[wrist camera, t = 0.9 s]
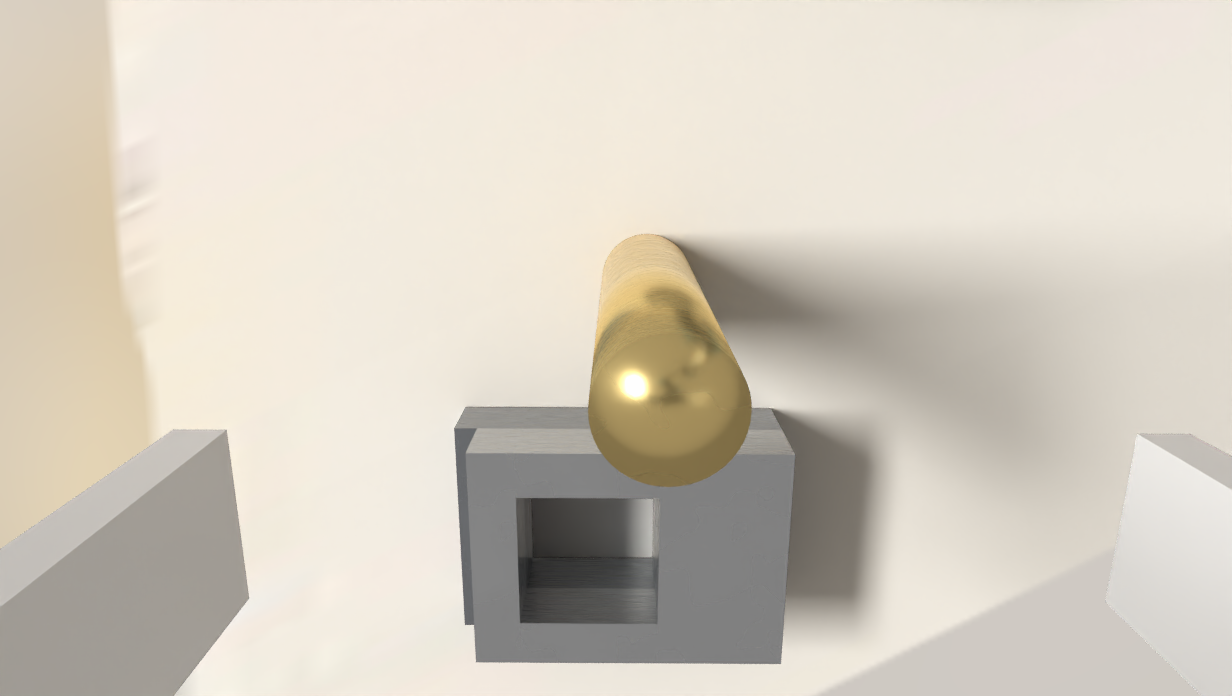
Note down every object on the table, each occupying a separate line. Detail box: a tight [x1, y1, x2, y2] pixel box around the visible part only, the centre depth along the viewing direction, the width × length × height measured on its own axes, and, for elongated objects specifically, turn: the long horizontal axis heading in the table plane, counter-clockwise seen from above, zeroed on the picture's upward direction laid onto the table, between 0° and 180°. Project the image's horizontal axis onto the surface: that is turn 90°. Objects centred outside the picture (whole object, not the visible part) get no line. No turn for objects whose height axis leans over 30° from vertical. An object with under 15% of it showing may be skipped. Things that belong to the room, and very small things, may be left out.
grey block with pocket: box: [454, 407, 795, 664], centre depth 30 cm, size 12×8×4 cm
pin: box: [588, 234, 752, 487], centre depth 22 cm, size 3×3×14 cm
